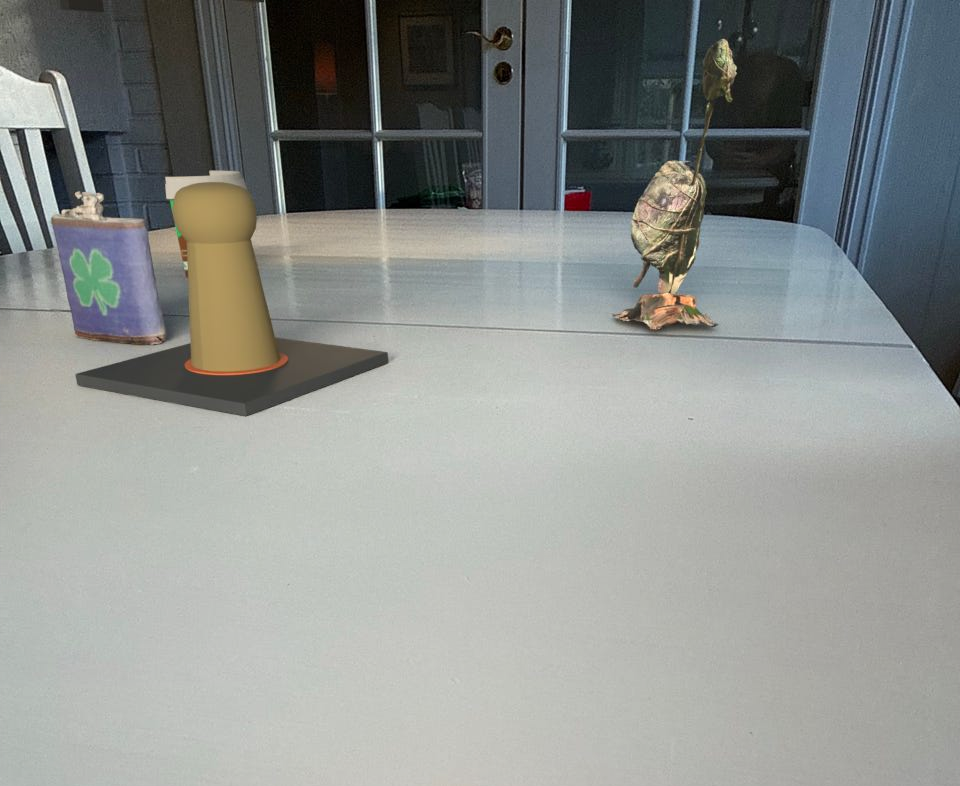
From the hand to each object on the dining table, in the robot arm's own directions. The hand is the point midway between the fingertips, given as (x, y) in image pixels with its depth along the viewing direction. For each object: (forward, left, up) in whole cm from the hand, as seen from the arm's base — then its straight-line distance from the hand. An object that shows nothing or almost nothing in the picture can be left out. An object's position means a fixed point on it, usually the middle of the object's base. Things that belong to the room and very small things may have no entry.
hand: (159, 6), depth 54 cm
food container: (-30, +34, -22) cm, 50 cm away
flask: (-13, +3, -22) cm, 25 cm away
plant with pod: (+24, +29, -22) cm, 43 cm away
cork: (+4, -1, -21) cm, 21 cm away
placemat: (+4, -1, -21) cm, 22 cm away
